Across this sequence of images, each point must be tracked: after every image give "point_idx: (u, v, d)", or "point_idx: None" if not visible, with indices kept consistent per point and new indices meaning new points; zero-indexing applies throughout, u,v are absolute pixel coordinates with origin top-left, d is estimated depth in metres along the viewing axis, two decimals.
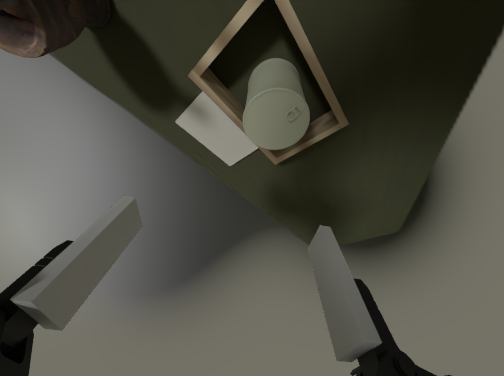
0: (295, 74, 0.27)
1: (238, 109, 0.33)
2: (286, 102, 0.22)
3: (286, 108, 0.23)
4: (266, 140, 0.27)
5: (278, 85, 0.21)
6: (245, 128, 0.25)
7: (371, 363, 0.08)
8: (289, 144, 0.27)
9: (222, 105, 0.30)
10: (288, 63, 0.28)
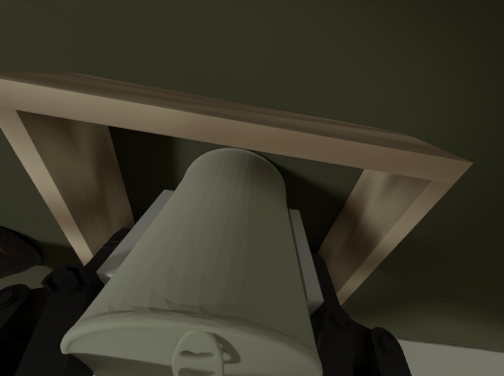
0: (225, 167, 0.11)
1: None
2: (145, 344, 0.05)
3: (168, 349, 0.05)
4: None
5: (92, 304, 0.06)
6: None
7: (315, 324, 0.08)
8: None
9: None
10: (214, 153, 0.13)
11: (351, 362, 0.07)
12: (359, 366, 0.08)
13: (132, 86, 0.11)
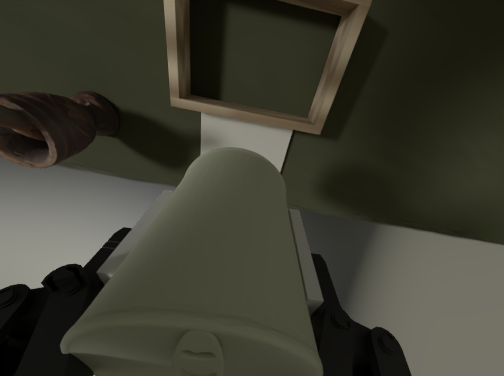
0: (225, 167, 0.11)
1: (237, 106, 0.28)
2: (145, 343, 0.05)
3: (168, 349, 0.05)
4: None
5: (92, 303, 0.06)
6: None
7: (315, 324, 0.08)
8: None
9: (215, 109, 0.26)
10: (214, 153, 0.13)
11: (351, 362, 0.07)
12: (358, 366, 0.08)
13: None
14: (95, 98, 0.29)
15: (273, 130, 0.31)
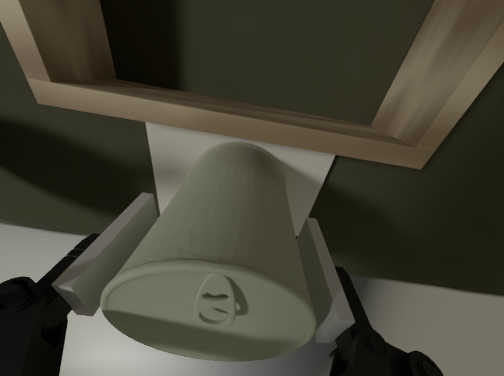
0: (231, 158, 0.12)
1: (216, 102, 0.12)
2: (172, 292, 0.06)
3: (189, 299, 0.07)
4: (237, 350, 0.09)
5: (126, 263, 0.07)
6: (171, 351, 0.10)
7: (346, 343, 0.08)
8: (300, 342, 0.08)
9: (153, 109, 0.10)
10: (220, 147, 0.14)
11: None
12: None
13: None
14: None
15: (296, 151, 0.15)
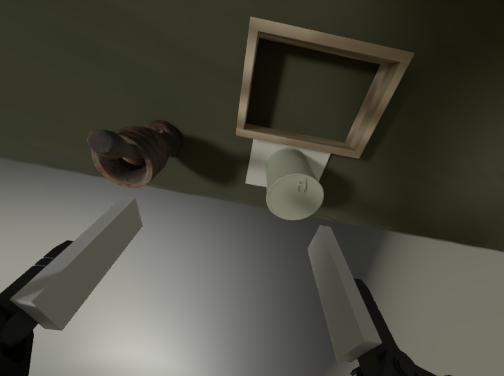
0: (291, 154, 0.33)
1: (287, 134, 0.33)
2: (290, 183, 0.27)
3: (293, 186, 0.28)
4: (298, 212, 0.30)
5: (277, 177, 0.28)
6: (276, 214, 0.31)
7: (371, 363, 0.08)
8: (318, 205, 0.29)
9: (272, 137, 0.31)
10: (283, 150, 0.36)
11: None
12: None
13: None
14: (166, 126, 0.34)
15: (314, 152, 0.36)
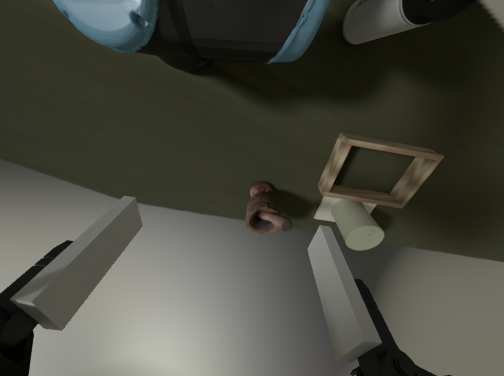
0: (355, 204, 0.50)
1: (353, 191, 0.49)
2: (364, 230, 0.44)
3: (365, 232, 0.44)
4: (364, 246, 0.47)
5: (355, 226, 0.44)
6: (350, 247, 0.47)
7: (371, 363, 0.08)
8: (379, 242, 0.46)
9: (346, 197, 0.47)
10: None
11: None
12: None
13: (359, 137, 0.42)
14: (269, 186, 0.50)
15: None
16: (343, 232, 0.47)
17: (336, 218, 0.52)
